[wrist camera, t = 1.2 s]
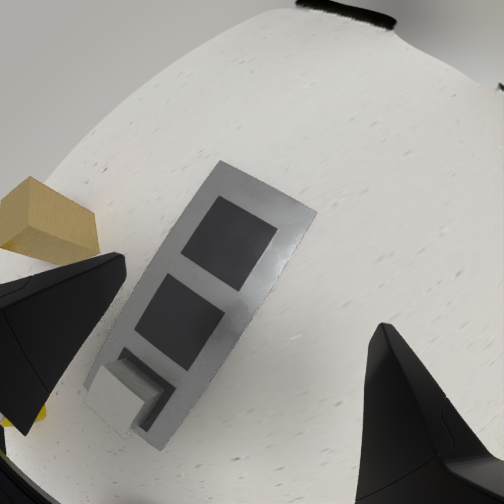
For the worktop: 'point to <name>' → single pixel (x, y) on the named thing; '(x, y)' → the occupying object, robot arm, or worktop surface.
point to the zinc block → (122, 395)
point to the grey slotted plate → (204, 290)
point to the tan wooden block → (46, 225)
